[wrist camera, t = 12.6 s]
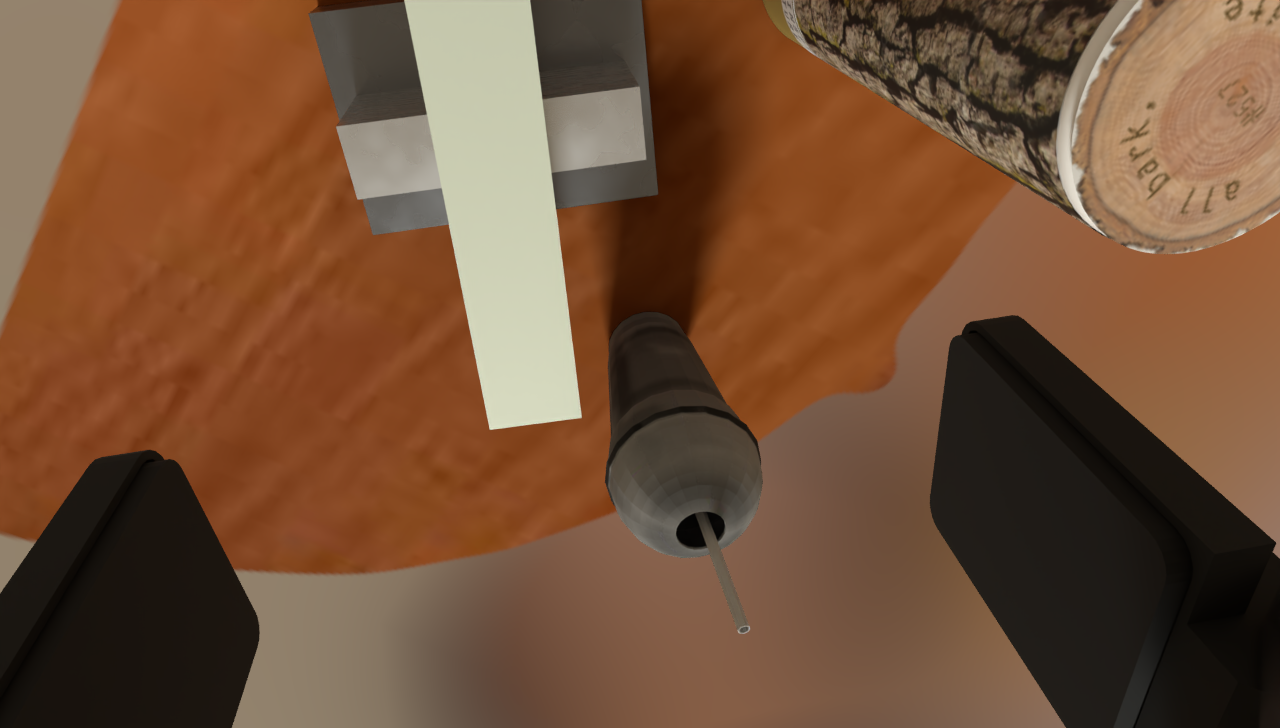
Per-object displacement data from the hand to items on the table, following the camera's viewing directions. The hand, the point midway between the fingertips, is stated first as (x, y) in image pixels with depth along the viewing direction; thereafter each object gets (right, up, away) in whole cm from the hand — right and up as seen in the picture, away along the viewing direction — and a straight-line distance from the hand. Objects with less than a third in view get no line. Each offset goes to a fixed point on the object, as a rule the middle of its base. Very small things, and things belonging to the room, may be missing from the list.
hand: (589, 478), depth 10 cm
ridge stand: (-6, +14, +29) cm, 33 cm away
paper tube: (+9, +20, +28) cm, 35 cm away
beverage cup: (+1, +3, +37) cm, 37 cm away
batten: (-5, +10, +23) cm, 26 cm away
